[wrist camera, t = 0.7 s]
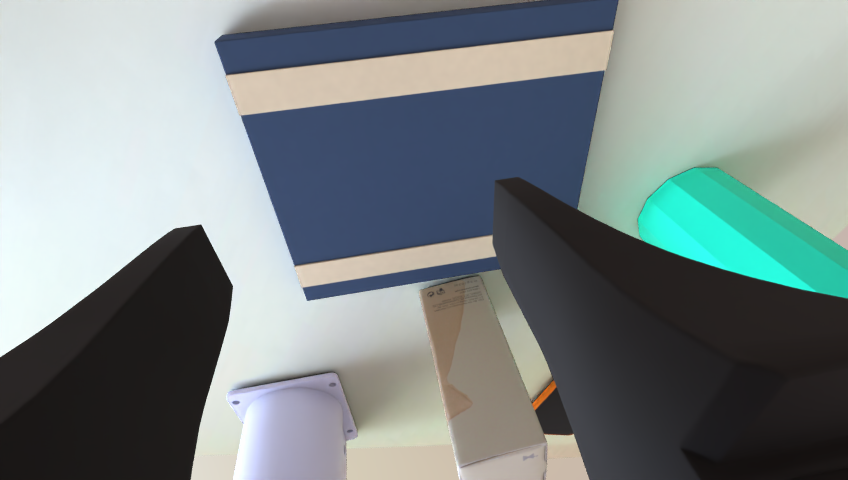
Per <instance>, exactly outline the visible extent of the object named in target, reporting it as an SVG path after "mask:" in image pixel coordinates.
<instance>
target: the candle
mask: <svg viewBox="0 0 848 480" xmlns="http://www.w3.org/2000/svg"><path fill="white" fill-rule="evenodd" d="M638 226H639V234H640V237H641V238H642V239H643V240H644V241H645V242H646V243H649V244H651V245H654V246H656V247H659V248H661V249H664V250H667V251H669V252H672V253H675V254H678V255H681V256H683V257H686V258H689V259H693V260H696V261H699V262H702V263H705V264H708V265H711V266H715V267H718V268H721V269H724V270H728V271H731V272H735V273H739V274H742V275H746V276H749V277H753V278H757V279H761V280H765V281H769V282H773V283H778V284H782V285H786V286H790V287H794V288H798V289H803V290H808V291H813V292H818V293H823V294H828V295H833V296H838V297H843V298H848V250H846V249H845V248H843V247H842V246H840V245H838V244H837V243H835V242H834V241H832V240H830V239H829V238H827V237H826V236H824V235H823V234H821V233H819V232H818V231H816V230H815V229H813V228H812V227H810V226H808V225H807V224H805V223H804V222H802V221H800V220H799V219H797V218H796V217H794V216H793V215H791V214H789V213H788V212H786V211H785V210H783V209H782V208H780V207H778V206H777V205H775V204H774V203H772V202H770V201H769V200H767V199H766V198H764V197H763V196H761V195H759V194H758V193H756V192H755V191H753V190H752V189H750V188H748V187H747V186H745V185H744V184H742V183H740V182H739V181H737V180H736V179H734V178H733V177H731V176H729V175H728V174H726V173H725V172H723V171H722V170H720V169H718V168H699V167H694V168H692V169H690V170H688V171H686V172H683V173H681V174H679V175H677V176H675V177H672V178H670V179H668V180H667V181H666V182H665V183H664V184H663V185H662V186H661V187H660V188H659V189H658V190H657V191H656V192H654V193H653V194H652V195H651V196H650V197H649V198H648V199H647V201H646V203H645V205H644V208H643V210H642V212H641V214H640V216H639V218H638Z"/></svg>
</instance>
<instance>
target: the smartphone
mask: <svg viewBox="0 0 848 480" xmlns="http://www.w3.org/2000/svg"><path fill="white" fill-rule="evenodd" d="M532 405H533V408H534V410H535V413H536V415H537V418H538V420H539V423H540V425H541V428H542V431H543V433H544V434H548V435H572V434H574V433H573V430H572V427H571V425H570V422H569V419H568V416H567V414H566V411H565V408H564V406H563V403H562V400H561V397H560V395H559V392H558V390H557V387H556V384H555V382H554V380H553V381H552V382H551V384H550V385H549V386H548V387H547V388H546V389H545V390H544V391H543V392H542V394H541V395H540V396H539V397H538V398H537V399H536V400H535V401H534V402H533V403H532Z"/></svg>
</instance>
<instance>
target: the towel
mask: <svg viewBox="0 0 848 480" xmlns="http://www.w3.org/2000/svg"><path fill="white" fill-rule="evenodd" d="M617 5H618V0H543V1H534V2H525V3H515V4H506V5H497V6H488V7H478V8H469V9H460V10H450V11H441V12H432V13H423V14H413V15H404V16H395V17H385V18H376V19H367V20H358V21H348V22H339V23H330V24H320V25H311V26H302V27H293V28H283V29H274V30H265V31H255V32H246V33H237V34H228V35H222V36H220V37H219V38H218V39H217V40H216V41H215V45H216V48H217V51H218V54H219V56H220V59H221V62H222V65H223V68H224V70H225V73H226V79H227V82H228V85H229V87H230V90H231V93H232V96H233V99H234V101H235V104H236V107H237V110H238V112H239V115H240V116H241V118H242V120H243V123H244V126H245V129H246V132H247V134H248V137H249V140H250V143H251V146H252V148H253V151H254V154H255V157H256V159H257V162H258V165H259V168H260V171H261V173H262V176H263V179H264V182H265V185H266V187H267V190H268V193H269V196H270V199H271V201H272V204H273V207H274V210H275V212H276V215H277V218H278V221H279V224H280V226H281V229H282V232H283V235H284V238H285V240H286V243H287V246H288V249H289V251H290V254H291V257H292V260H293V263H294V265H295V266H294V268H295V271H296V273H297V276H298V279H299V282H300V284H301V287H302V288H303V290H304V293H305V296H306V299H307V301H309V300H315V299H321V298H327V297H333V296H340V295H346V294H352V293H358V292H364V291H370V290H376V289H382V288H388V287H394V286H400V285H406V284H412V283H418V282H425V281H431V280H437V279H443V278H449V277H455V276H461V275H467V274H473V273H479V272H485V271H491V270H497V269H501V268H500V265H499V262H498V259H497V256H496V253H495V250H494V247H493V244H492V239H493V212H494V186H495V180H500V179H507V178H514V177H520V178H522V179H524V180H526V181H528V182H529V183H531V184H533V185H535V186H536V187H538V188H540V189H542V190H543V191H545V192H547V193H549V194H550V195H552V196H554V197H555V198H557V199H559V200H561V201H562V202H564V203H566V204H568V205H570V206H571V207H573V208H575V209H577V207H578V202H579V197H580V192H581V187H582V182H583V177H584V172H585V167H586V162H587V156H588V151H589V146H590V141H591V136H592V131H593V126H594V121H595V116H596V111H597V106H598V101H599V96H600V91H601V86H602V81H603V76H604V71H605V70H606V69H607V64H608V59H609V54H610V49H611V44H612V39H613V34H614V30H613V26H614V21H615V16H616V10H617Z"/></svg>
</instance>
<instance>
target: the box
mask: <svg viewBox="0 0 848 480" xmlns="http://www.w3.org/2000/svg"><path fill="white" fill-rule="evenodd" d="M419 296H420V301H421V305H422V310H423V314H424V319H425V323H426V328H427V332H428V336H429V341H430V345H431V350H432V355H433V359H434V364H435V368H436V373H437V378H438V382H439V387H440V392H441V396H442V401H443V405H444V410H445V414H446V419H447V424H448V428H449V433H450V437H451V442H452V446H453V451H454V456H455V460H456V465H457V470H458V475H459V479H460V480H546V469H547V441H546V438H545V436H544V433H543V431H542V428H541V425H540V423H539V420H538V418H537V415H536V413H535V410H534V408H533V405H532V403H531V400H530V398H529V395H528V392H527V390H526V388H525V385H524V382H523V380H522V377H521V375H520V373H519V370H518V368H517V365H516V363H515V360H514V358H513V355H512V353H511V350H510V348H509V345H508V343H507V340H506V338H505V335H504V333H503V330H502V328H501V325H500V323H499V321H498V318H497V316H496V313H495V311H494V308H493V306H492V303H491V301H490V298H489V296H488V293H487V291H486V289H485V286H484V283H483V281H482V278H481V276H475V277H470V278H466V279H462V280H457V281H453V282H449V283H445V284H441V285H438V286H433V287H430V288H426V289H422V290H420V291H419Z"/></svg>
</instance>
